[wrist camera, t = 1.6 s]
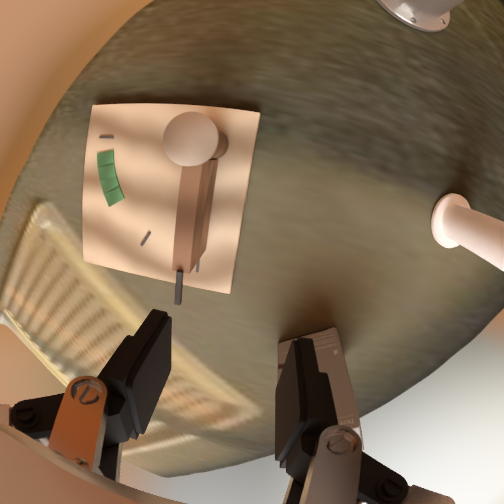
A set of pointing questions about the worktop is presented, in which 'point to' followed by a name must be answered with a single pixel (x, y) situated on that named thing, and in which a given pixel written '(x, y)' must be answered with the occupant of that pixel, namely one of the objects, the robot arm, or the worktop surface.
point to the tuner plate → (160, 192)
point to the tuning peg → (193, 186)
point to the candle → (468, 229)
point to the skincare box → (331, 375)
